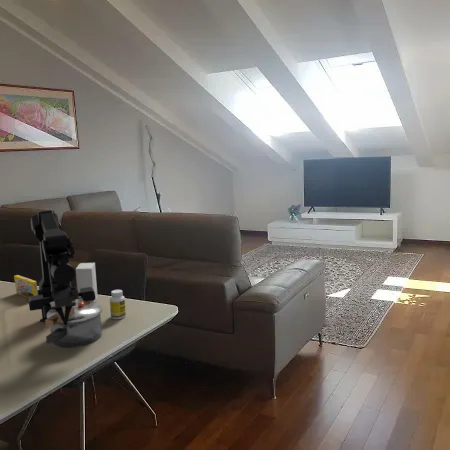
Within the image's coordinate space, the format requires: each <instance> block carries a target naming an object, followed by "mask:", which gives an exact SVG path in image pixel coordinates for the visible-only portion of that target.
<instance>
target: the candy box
mask: <svg viewBox="0 0 450 450" xmlns="http://www.w3.org/2000/svg"><path fill="white" fill-rule="evenodd" d="M13 279H14V284H15V292H16V294H17V295H19V296H22V297H25V298H28V299H29V298H30V297H31V296H36V295H37V290H38V284H37V280H33V279H31V278H29V277H25V276H22V275H19V274H16V275H14V276H13Z"/></svg>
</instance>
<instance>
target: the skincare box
mask: <svg viewBox="0 0 450 450" xmlns="http://www.w3.org/2000/svg"><path fill="white" fill-rule="evenodd" d="M96 271H97V270H96V262H81V263H79V264H78V265H77V267H75V278H76V287H77V289H78V292H80V289H81V288H87V287H92V288H93V289H94V292H95V300H94V301H92V302H95V303H97V301H98V287H97V274H96V273H97V272H96ZM77 302H83V300H82V298H79V299H77Z"/></svg>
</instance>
